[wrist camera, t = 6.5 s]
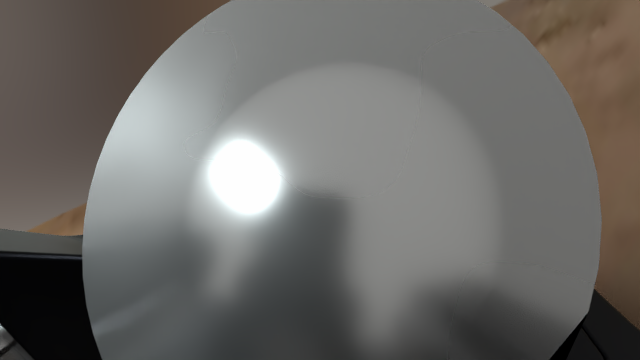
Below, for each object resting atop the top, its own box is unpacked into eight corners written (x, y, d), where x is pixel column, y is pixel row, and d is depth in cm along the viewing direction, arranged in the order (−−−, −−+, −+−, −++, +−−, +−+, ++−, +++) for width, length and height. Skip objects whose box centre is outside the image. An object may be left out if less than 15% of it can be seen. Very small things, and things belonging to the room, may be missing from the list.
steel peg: (471, 271, 14) (825, 324, 2) (375, 321, 14) (140, 614, 2) (410, 181, 15) (374, -109, 3) (328, 229, 16) (55, 127, 4)
